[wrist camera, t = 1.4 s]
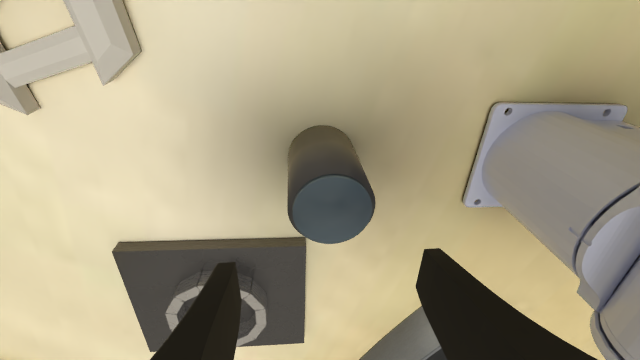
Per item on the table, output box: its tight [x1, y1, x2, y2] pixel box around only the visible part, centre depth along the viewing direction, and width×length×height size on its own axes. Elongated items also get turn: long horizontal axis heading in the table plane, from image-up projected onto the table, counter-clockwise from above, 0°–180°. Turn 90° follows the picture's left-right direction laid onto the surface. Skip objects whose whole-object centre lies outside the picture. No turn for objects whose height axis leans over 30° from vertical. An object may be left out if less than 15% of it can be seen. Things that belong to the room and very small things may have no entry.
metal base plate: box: [112, 238, 306, 352], centre depth 26 cm, size 14×12×2 cm
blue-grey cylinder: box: [288, 126, 375, 244], centre depth 18 cm, size 4×4×7 cm
